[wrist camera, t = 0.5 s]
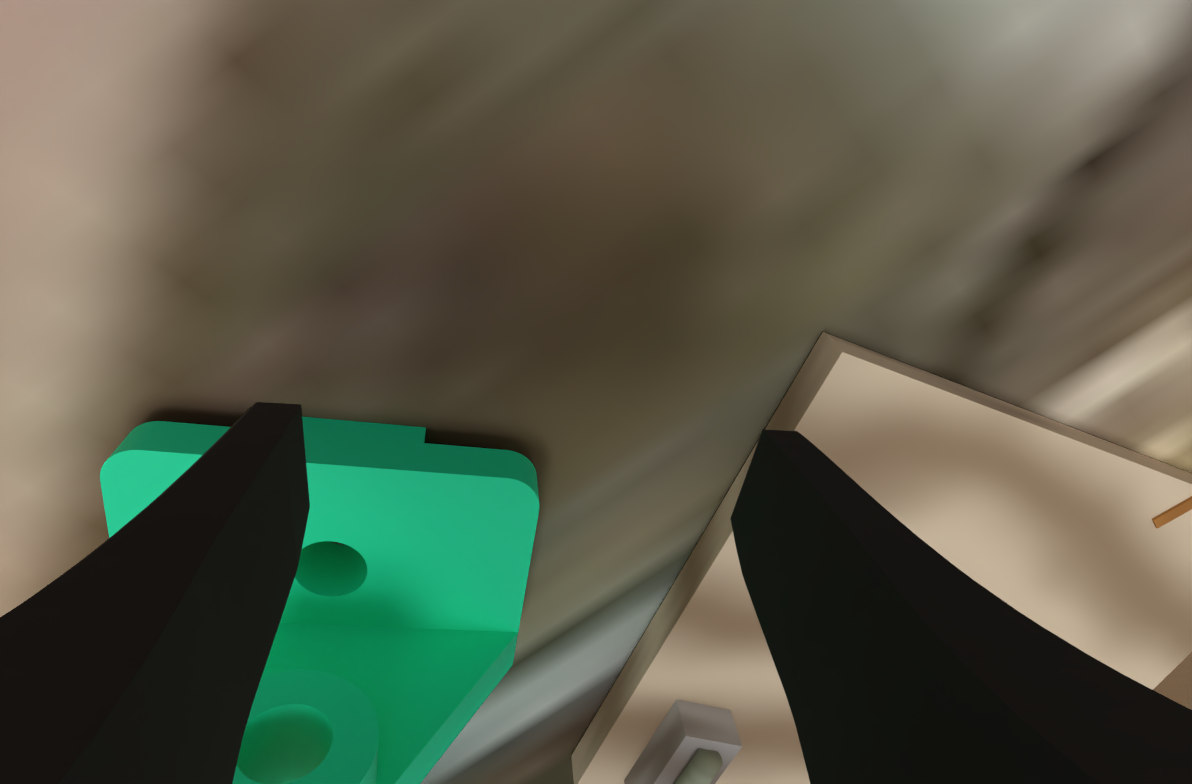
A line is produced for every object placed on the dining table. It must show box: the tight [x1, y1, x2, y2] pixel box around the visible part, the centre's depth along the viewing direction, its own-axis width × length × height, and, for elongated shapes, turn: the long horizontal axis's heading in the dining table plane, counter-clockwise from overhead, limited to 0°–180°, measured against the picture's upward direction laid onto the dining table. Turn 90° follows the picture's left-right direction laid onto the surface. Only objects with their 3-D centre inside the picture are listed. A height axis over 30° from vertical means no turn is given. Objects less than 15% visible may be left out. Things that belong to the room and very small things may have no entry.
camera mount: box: [100, 417, 539, 784], centre depth 20 cm, size 12×8×10 cm, turn 80°
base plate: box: [571, 332, 1192, 784], centre depth 29 cm, size 21×22×4 cm
